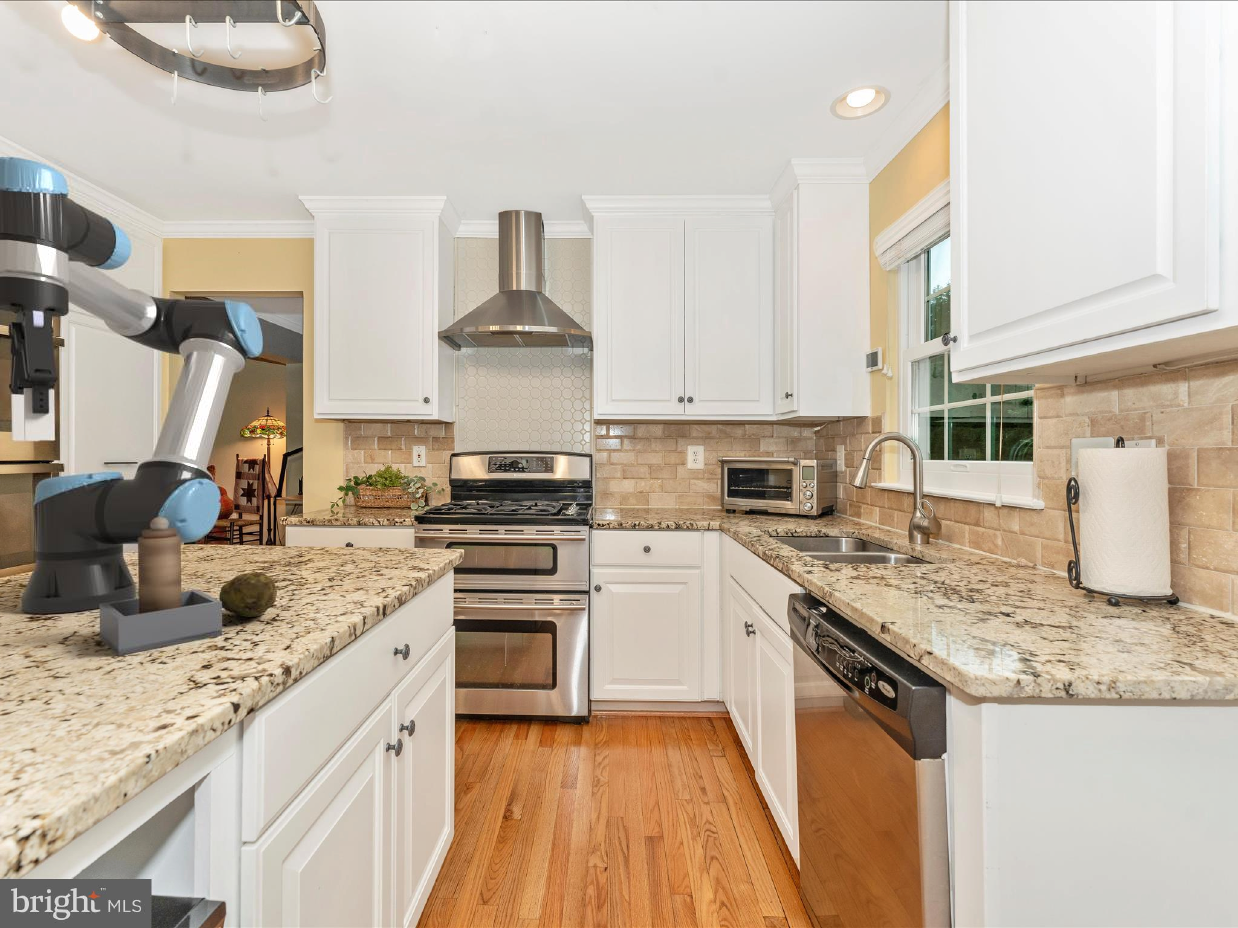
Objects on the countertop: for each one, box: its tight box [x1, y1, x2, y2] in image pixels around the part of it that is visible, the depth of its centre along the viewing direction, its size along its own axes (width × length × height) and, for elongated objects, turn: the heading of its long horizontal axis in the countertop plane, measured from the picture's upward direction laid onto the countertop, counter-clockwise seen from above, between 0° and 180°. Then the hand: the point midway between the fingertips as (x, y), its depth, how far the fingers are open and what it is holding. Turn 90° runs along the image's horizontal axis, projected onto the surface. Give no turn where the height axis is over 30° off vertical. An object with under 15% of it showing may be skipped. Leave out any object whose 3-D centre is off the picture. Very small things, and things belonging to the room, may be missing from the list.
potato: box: [218, 572, 278, 618], centre depth 98 cm, size 8×13×8 cm, turn 31°
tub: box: [99, 589, 223, 657], centre depth 88 cm, size 12×12×5 cm
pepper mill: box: [137, 517, 182, 614], centre depth 88 cm, size 5×5×17 cm
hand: (32, 441), depth 80 cm, fingers open, 13 cm apart
